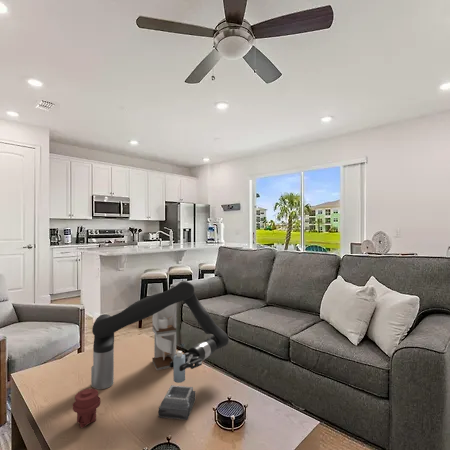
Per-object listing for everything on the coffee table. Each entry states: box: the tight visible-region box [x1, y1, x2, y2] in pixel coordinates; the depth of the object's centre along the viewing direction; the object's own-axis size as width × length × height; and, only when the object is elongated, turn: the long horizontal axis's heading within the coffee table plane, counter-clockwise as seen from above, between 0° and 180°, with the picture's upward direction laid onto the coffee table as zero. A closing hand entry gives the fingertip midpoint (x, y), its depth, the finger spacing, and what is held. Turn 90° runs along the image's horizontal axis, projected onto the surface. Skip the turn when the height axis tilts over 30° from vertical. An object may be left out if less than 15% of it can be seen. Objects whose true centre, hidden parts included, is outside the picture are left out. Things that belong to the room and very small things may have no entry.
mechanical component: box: [72, 388, 101, 428], centre depth 121 cm, size 12×10×10 cm
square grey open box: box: [157, 384, 196, 421], centre depth 130 cm, size 12×14×6 cm
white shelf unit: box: [151, 302, 178, 371], centre depth 170 cm, size 11×11×35 cm
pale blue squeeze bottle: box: [172, 350, 186, 384], centre depth 132 cm, size 5×5×12 cm
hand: (175, 367), depth 130 cm, fingers closed on pale blue squeeze bottle, 5 cm apart
